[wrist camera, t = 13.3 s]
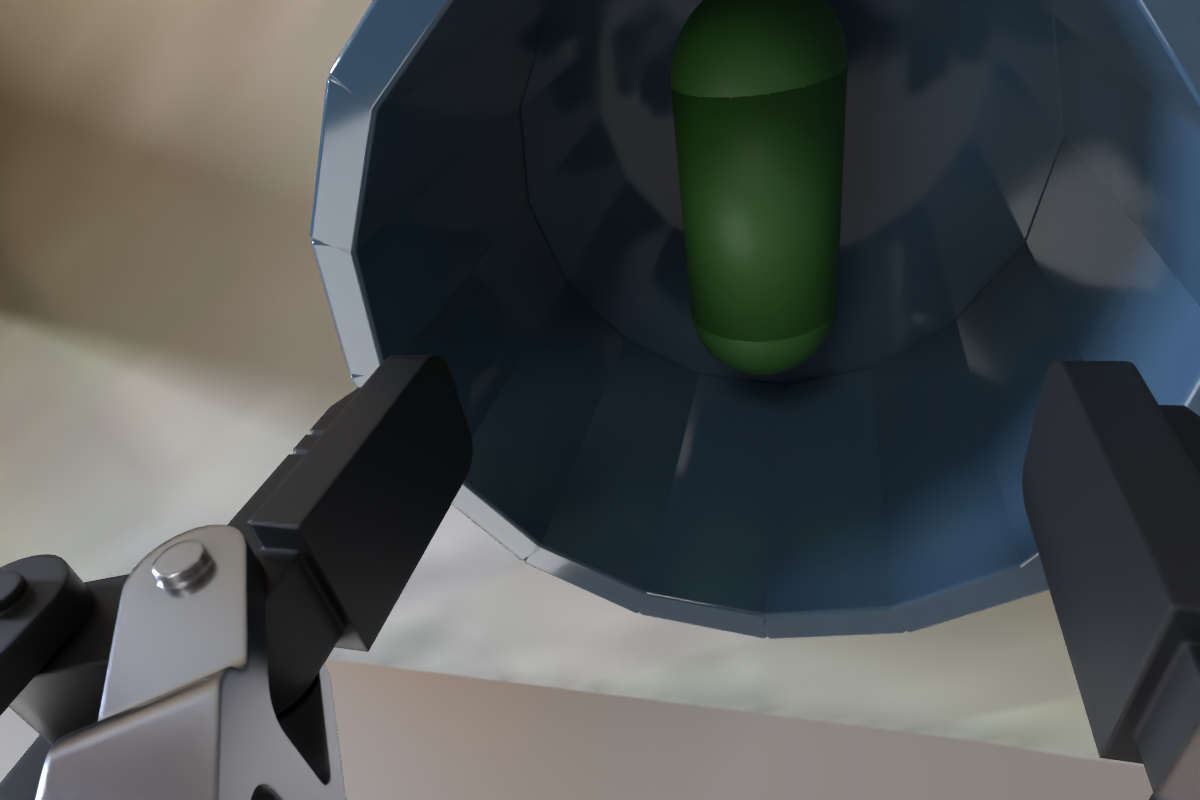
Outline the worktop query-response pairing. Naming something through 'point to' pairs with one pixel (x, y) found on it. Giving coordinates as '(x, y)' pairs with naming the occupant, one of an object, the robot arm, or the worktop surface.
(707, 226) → the cucumber
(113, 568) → the worktop surface
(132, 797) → the robot arm
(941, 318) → the pot
